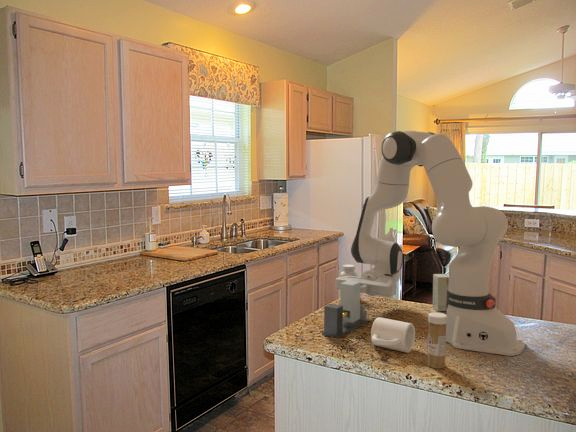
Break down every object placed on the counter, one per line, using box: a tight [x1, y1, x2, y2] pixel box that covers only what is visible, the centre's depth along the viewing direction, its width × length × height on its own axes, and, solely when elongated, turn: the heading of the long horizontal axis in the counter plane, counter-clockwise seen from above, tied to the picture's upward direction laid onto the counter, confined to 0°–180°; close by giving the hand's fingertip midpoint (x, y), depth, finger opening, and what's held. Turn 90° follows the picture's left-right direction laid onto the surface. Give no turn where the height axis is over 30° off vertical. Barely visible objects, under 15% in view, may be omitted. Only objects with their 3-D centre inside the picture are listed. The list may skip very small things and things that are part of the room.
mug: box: [370, 316, 416, 353], centre depth 133 cm, size 12×10×8 cm
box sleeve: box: [339, 280, 361, 323], centre depth 153 cm, size 4×5×12 cm
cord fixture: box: [321, 303, 369, 339], centre depth 151 cm, size 6×19×9 cm, turn 145°
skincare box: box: [432, 273, 449, 312], centre depth 171 cm, size 6×4×12 cm
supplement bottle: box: [339, 264, 358, 277], centre depth 186 cm, size 7×7×13 cm
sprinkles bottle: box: [426, 311, 447, 369], centre depth 122 cm, size 5×5×13 cm
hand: (354, 290), depth 155 cm, fingers closed, pressing on box sleeve
